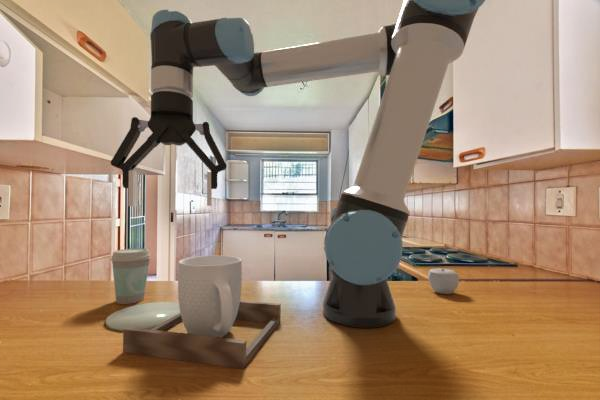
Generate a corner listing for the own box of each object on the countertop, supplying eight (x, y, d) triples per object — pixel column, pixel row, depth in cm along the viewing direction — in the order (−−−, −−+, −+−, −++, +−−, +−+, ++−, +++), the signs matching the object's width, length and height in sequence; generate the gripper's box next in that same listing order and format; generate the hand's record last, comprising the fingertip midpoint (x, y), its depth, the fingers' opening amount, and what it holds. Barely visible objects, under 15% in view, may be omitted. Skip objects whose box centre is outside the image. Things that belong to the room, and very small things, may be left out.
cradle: (280, 321, 59) (280, 303, 59) (243, 369, 41) (243, 343, 41) (190, 312, 63) (191, 296, 63) (122, 352, 46) (123, 329, 46)
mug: (260, 345, 48) (261, 265, 49) (190, 364, 42) (192, 272, 43) (228, 317, 61) (229, 253, 61) (171, 328, 55) (172, 258, 55)
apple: (462, 292, 81) (461, 268, 81) (456, 298, 75) (456, 272, 75) (431, 287, 86) (431, 264, 86) (423, 293, 80) (423, 268, 80)
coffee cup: (121, 308, 65) (122, 254, 66) (102, 301, 70) (103, 251, 70) (157, 298, 73) (158, 249, 73) (138, 293, 77) (139, 247, 78)
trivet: (201, 307, 66) (201, 305, 66) (155, 335, 52) (155, 331, 52) (144, 302, 70) (144, 299, 70) (85, 326, 55) (85, 323, 55)
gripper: (236, 108, 64) (237, 205, 64) (106, 98, 58) (105, 206, 57) (239, 95, 57) (239, 204, 56) (90, 82, 50) (89, 206, 50)
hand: (172, 206), depth 57 cm, fingers open, 13 cm apart
